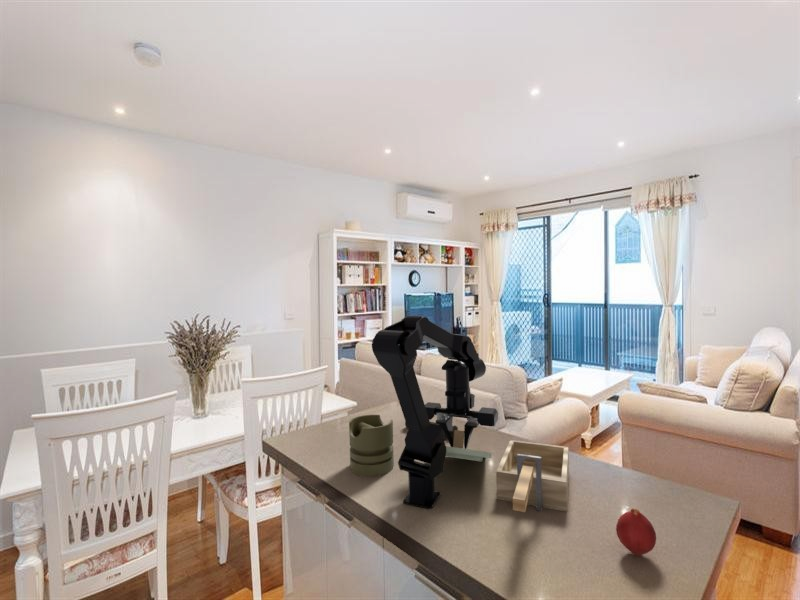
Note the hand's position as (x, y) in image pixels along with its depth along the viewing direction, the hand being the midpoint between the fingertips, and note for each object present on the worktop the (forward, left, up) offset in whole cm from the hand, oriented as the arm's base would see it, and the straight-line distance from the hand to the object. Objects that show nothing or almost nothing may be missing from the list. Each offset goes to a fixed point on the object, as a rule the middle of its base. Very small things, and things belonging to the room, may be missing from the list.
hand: (459, 447), depth 101 cm
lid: (-1, 0, -2) cm, 2 cm away
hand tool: (+23, +17, -6) cm, 29 cm away
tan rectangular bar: (-21, -18, +2) cm, 28 cm away
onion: (-20, -36, -6) cm, 42 cm away
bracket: (-12, -18, -6) cm, 22 cm away
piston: (-5, +22, -6) cm, 23 cm away
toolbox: (0, -18, -6) cm, 19 cm away
